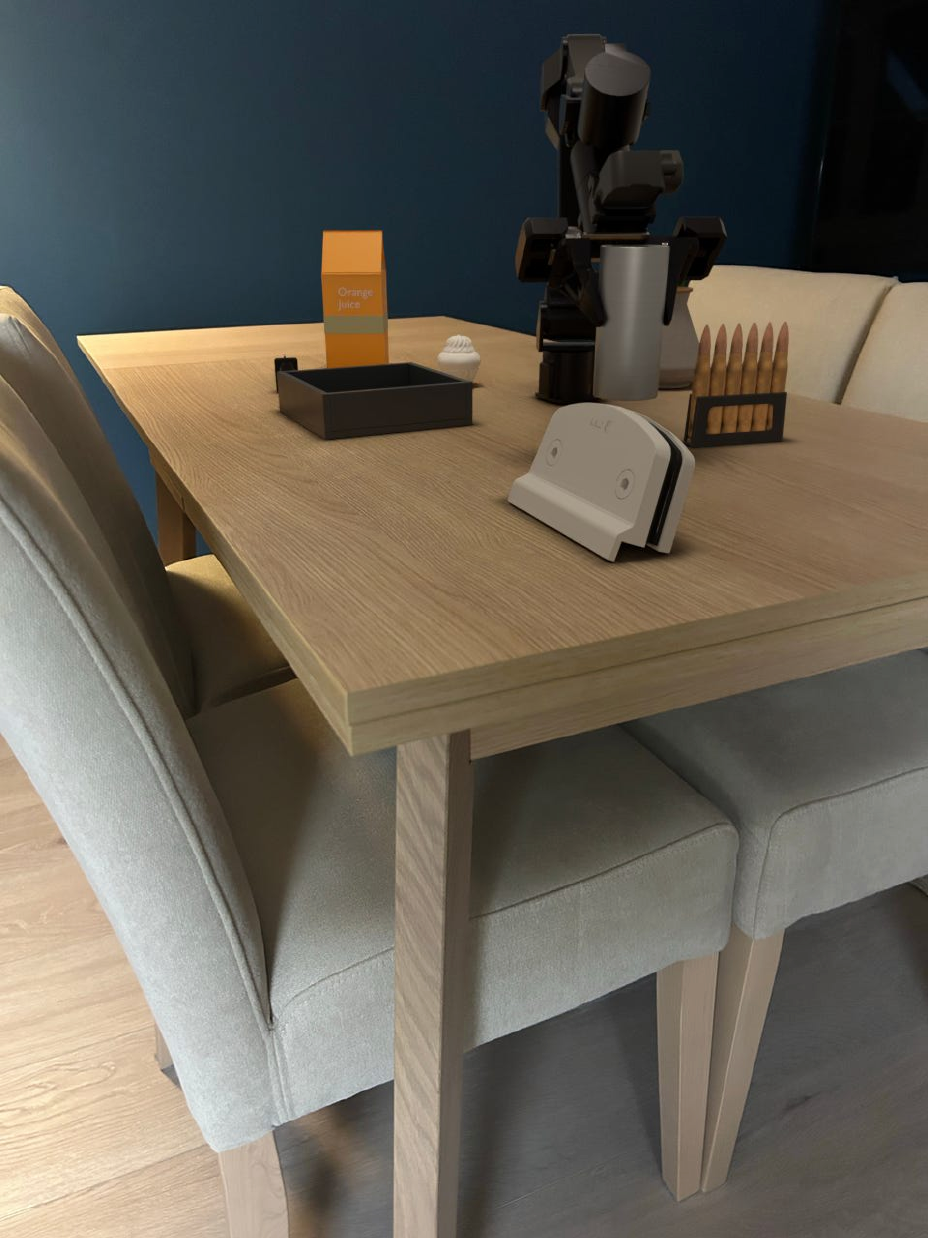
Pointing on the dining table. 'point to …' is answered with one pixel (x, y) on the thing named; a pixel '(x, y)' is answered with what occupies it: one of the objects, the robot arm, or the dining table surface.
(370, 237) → the orange juice
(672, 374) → the coffee pot
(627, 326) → the metal can
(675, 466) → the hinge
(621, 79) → the robot arm
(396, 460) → the dining table surface
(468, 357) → the muffin
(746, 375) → the ammunition clip
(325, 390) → the bin
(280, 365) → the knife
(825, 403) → the dining table surface
